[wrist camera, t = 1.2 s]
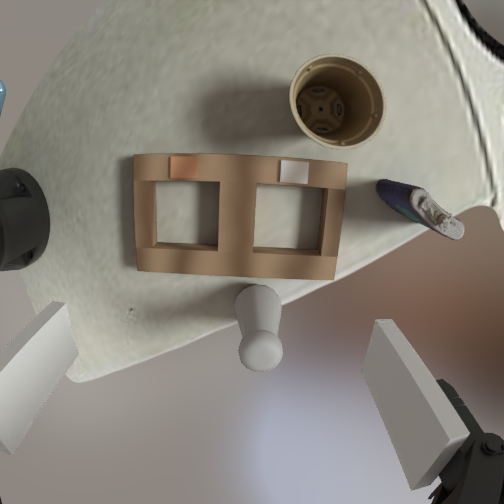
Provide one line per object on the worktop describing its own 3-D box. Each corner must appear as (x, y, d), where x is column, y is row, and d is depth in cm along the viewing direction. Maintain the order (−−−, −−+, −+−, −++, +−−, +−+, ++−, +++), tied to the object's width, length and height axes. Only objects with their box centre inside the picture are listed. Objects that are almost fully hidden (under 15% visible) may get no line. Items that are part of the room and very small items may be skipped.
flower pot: (370, 129, 34) (402, 126, 26) (304, 163, 36) (320, 166, 27) (333, 62, 32) (356, 41, 23) (265, 93, 33) (269, 77, 25)
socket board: (143, 263, 39) (136, 271, 37) (141, 154, 35) (132, 154, 32) (329, 272, 40) (334, 281, 37) (341, 162, 36) (348, 163, 33)
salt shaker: (234, 316, 42) (228, 379, 29) (236, 276, 40) (230, 332, 28) (277, 318, 42) (287, 381, 30) (282, 279, 40) (295, 335, 28)
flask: (431, 210, 37) (478, 231, 27) (421, 229, 38) (465, 254, 28) (381, 173, 36) (423, 184, 26) (370, 193, 37) (409, 210, 27)
